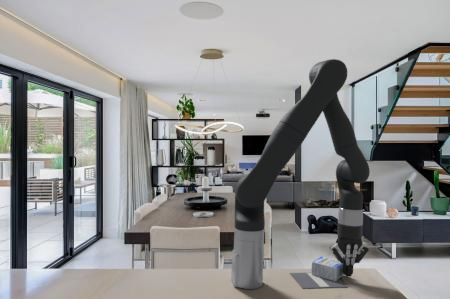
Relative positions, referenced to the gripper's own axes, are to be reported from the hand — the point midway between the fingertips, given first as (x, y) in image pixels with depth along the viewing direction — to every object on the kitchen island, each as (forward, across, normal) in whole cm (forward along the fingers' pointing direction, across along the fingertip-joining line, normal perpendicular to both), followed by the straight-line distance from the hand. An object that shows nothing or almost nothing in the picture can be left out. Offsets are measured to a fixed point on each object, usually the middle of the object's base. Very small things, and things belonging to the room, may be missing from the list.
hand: (347, 275), depth 113 cm
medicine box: (-1, -1, +1) cm, 2 cm away
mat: (+2, -10, +1) cm, 10 cm away
